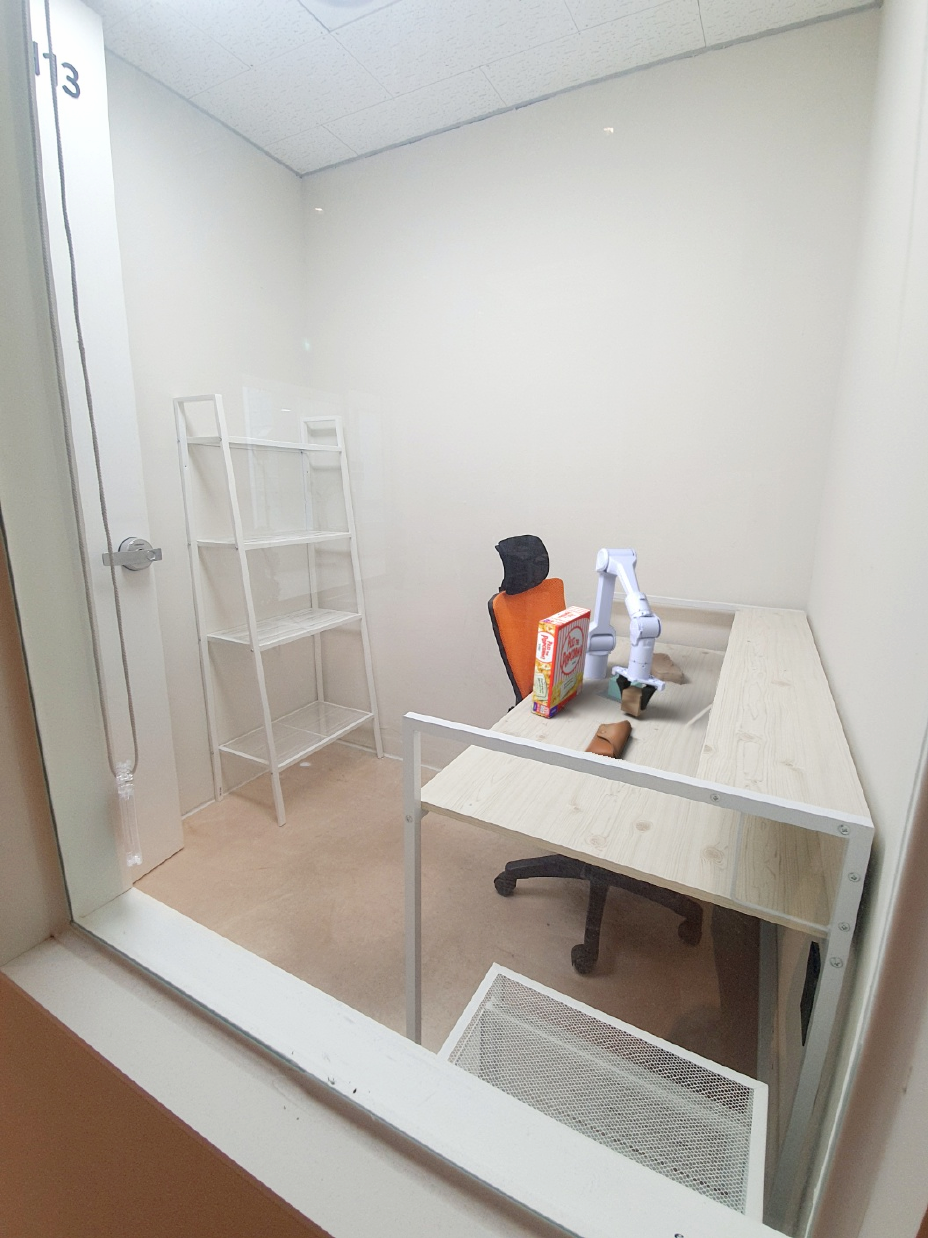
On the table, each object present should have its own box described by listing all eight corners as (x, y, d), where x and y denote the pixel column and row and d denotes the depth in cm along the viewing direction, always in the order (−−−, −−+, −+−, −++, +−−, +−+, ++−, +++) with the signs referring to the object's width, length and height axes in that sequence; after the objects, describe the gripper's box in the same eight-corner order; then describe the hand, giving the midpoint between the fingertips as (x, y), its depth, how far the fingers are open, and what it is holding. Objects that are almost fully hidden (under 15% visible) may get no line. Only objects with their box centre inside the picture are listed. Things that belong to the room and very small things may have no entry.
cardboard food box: (549, 719, 145) (558, 626, 137) (529, 712, 149) (536, 621, 140) (582, 694, 161) (591, 608, 152) (563, 688, 165) (571, 604, 156)
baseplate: (595, 697, 159) (596, 694, 159) (616, 685, 167) (616, 682, 167) (632, 711, 151) (632, 708, 151) (652, 698, 159) (652, 695, 159)
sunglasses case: (598, 723, 144) (614, 707, 141) (619, 740, 143) (635, 724, 140) (581, 756, 129) (598, 739, 126) (605, 776, 127) (622, 759, 124)
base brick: (607, 694, 159) (609, 679, 157) (619, 687, 164) (621, 672, 162) (629, 702, 154) (631, 686, 153) (640, 695, 159) (643, 679, 158)
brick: (682, 685, 169) (685, 672, 168) (656, 684, 169) (658, 671, 168) (664, 665, 185) (666, 652, 184) (640, 664, 185) (642, 652, 184)
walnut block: (620, 709, 147) (623, 690, 145) (629, 704, 150) (632, 684, 148) (637, 716, 143) (640, 696, 141) (645, 710, 147) (648, 690, 145)
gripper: (608, 655, 144) (602, 700, 148) (659, 672, 134) (651, 720, 139) (621, 649, 149) (615, 693, 153) (671, 665, 139) (664, 711, 143)
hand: (633, 705), depth 146 cm, fingers closed on walnut block, 5 cm apart
